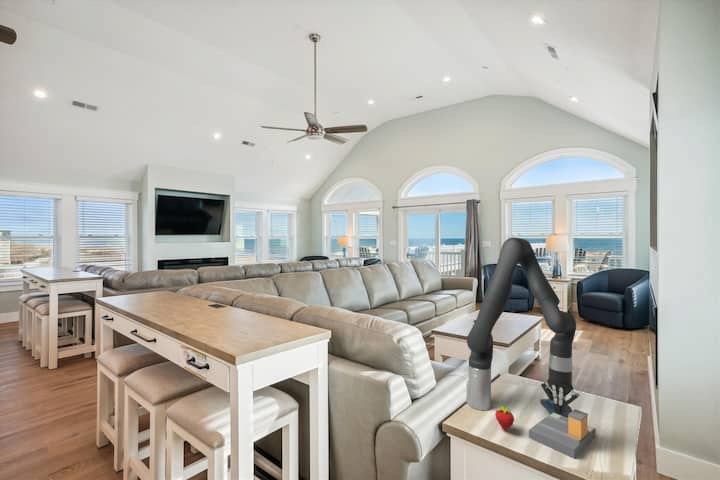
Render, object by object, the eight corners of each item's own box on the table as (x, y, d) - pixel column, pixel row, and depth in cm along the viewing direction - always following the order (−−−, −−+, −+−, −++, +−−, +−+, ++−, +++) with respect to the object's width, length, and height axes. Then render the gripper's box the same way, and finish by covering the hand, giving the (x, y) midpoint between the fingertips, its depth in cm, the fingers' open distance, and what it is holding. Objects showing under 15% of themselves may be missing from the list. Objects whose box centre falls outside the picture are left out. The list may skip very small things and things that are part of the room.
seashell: (577, 412, 141) (560, 389, 149) (557, 417, 139) (541, 394, 147) (571, 420, 145) (555, 398, 153) (552, 425, 143) (537, 402, 151)
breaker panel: (528, 437, 128) (528, 427, 128) (552, 419, 141) (552, 410, 141) (574, 458, 116) (574, 447, 116) (595, 436, 129) (595, 426, 129)
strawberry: (504, 437, 128) (505, 410, 128) (491, 426, 136) (491, 400, 135) (518, 434, 130) (518, 408, 130) (504, 424, 137) (504, 398, 137)
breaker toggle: (567, 435, 124) (568, 414, 124) (574, 428, 128) (575, 409, 128) (581, 440, 121) (581, 419, 121) (587, 434, 125) (588, 413, 125)
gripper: (537, 363, 131) (536, 409, 132) (576, 375, 121) (574, 425, 122) (546, 359, 136) (545, 403, 137) (584, 370, 126) (583, 418, 126)
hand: (559, 413), depth 129 cm, fingers closed
